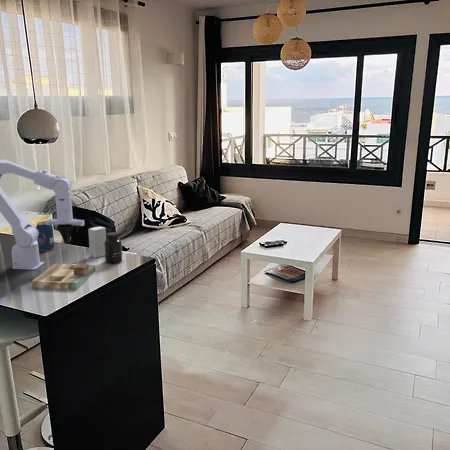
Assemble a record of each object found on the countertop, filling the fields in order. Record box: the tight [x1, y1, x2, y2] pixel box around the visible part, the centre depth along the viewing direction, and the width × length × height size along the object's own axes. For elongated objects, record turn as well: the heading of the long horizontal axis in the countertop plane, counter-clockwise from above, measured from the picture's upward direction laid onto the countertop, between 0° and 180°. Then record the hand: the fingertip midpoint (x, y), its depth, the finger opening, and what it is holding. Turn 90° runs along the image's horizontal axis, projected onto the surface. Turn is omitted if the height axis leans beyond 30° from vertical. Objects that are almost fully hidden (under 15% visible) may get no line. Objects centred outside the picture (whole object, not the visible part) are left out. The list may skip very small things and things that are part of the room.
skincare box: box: [88, 225, 107, 259], centre depth 190 cm, size 6×4×12 cm
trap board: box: [31, 263, 97, 291], centre depth 165 cm, size 16×18×2 cm
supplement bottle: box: [104, 231, 123, 265], centre depth 182 cm, size 7×7×12 cm
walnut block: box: [73, 263, 89, 276], centre depth 164 cm, size 4×4×3 cm
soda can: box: [35, 220, 56, 252], centre depth 198 cm, size 7×7×12 cm
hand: (67, 242), depth 177 cm, fingers closed
